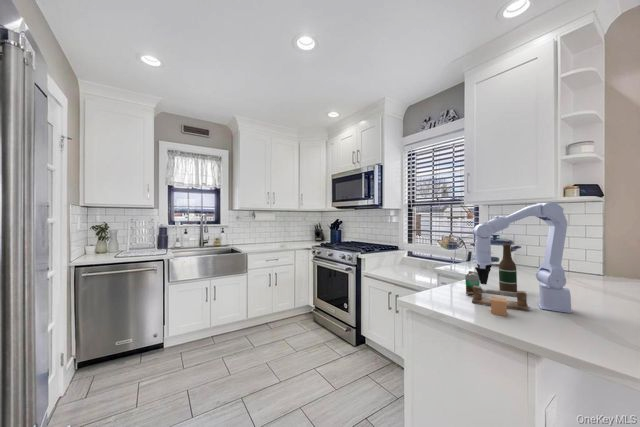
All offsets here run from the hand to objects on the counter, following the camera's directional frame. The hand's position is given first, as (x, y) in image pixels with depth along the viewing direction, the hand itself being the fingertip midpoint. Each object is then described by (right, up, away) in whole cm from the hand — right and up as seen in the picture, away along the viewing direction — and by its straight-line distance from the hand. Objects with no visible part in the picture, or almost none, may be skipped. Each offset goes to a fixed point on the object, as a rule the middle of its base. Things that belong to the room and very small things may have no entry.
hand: (484, 282), depth 114 cm
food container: (+5, -10, +15) cm, 19 cm away
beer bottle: (+24, -10, +19) cm, 32 cm away
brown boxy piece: (+6, -10, 0) cm, 11 cm away
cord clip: (-1, -10, -10) cm, 14 cm away
